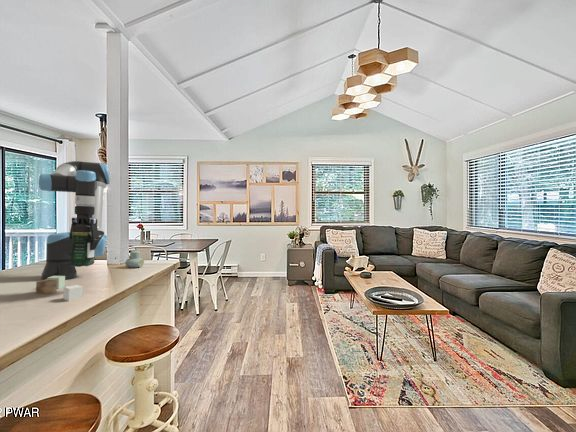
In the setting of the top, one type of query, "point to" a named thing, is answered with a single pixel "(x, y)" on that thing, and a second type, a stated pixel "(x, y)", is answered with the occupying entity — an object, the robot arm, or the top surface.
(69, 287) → the off-white block
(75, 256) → the coffee jar
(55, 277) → the sage block
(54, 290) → the walnut block
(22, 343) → the top surface
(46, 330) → the top surface
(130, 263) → the air freshener
